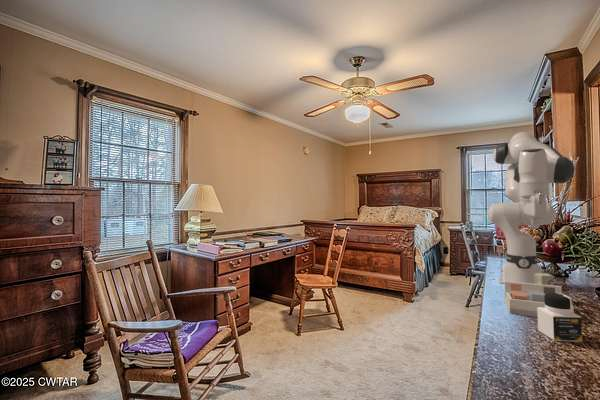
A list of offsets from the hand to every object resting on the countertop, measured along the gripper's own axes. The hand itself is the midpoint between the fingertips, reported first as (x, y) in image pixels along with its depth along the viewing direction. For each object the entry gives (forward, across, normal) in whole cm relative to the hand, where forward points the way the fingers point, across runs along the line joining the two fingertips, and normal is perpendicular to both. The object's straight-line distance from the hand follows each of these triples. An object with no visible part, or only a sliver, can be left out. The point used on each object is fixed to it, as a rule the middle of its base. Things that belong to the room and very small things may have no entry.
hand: (535, 228), depth 111 cm
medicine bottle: (+29, -28, 0) cm, 41 cm away
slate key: (+25, -8, +1) cm, 26 cm away
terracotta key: (+26, -8, +6) cm, 28 cm away
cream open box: (+29, -6, +2) cm, 30 cm away
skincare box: (+29, +11, -4) cm, 32 cm away
